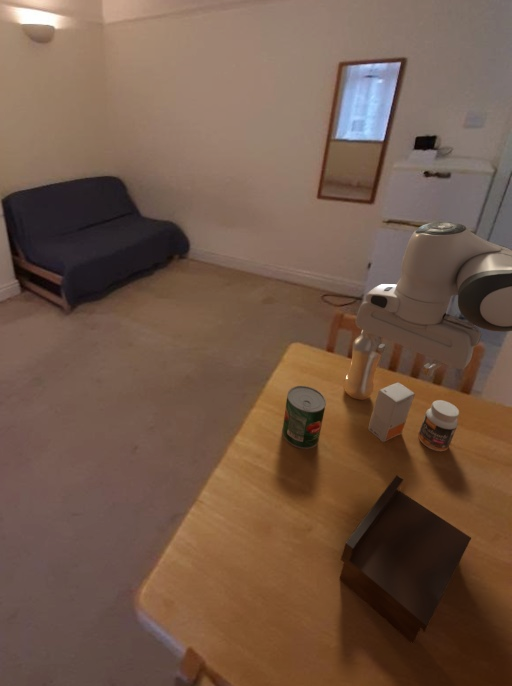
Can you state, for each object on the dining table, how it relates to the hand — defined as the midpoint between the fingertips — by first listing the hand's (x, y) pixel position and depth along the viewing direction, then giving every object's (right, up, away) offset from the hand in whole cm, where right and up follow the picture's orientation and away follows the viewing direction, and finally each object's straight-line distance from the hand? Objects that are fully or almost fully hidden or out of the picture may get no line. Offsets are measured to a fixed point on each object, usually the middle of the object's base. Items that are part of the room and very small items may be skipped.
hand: (401, 362), depth 83 cm
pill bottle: (+10, -19, +6) cm, 22 cm away
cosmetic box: (+1, -18, +9) cm, 20 cm away
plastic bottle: (0, -13, +20) cm, 23 cm away
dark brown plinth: (-11, -30, -16) cm, 36 cm away
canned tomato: (-18, -19, +9) cm, 27 cm away
